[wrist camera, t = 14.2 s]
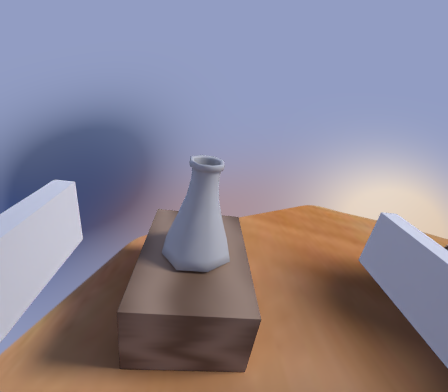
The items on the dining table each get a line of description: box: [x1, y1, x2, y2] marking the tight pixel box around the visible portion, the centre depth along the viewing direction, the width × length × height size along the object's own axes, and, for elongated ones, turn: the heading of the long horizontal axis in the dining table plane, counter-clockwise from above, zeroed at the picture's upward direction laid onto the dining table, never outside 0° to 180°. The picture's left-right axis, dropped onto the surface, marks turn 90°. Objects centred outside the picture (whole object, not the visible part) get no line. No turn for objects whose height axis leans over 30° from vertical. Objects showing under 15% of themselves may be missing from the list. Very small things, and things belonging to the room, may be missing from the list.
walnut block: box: [117, 209, 261, 372], centre depth 27 cm, size 11×16×7 cm
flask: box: [162, 155, 230, 272], centre depth 23 cm, size 7×7×10 cm
